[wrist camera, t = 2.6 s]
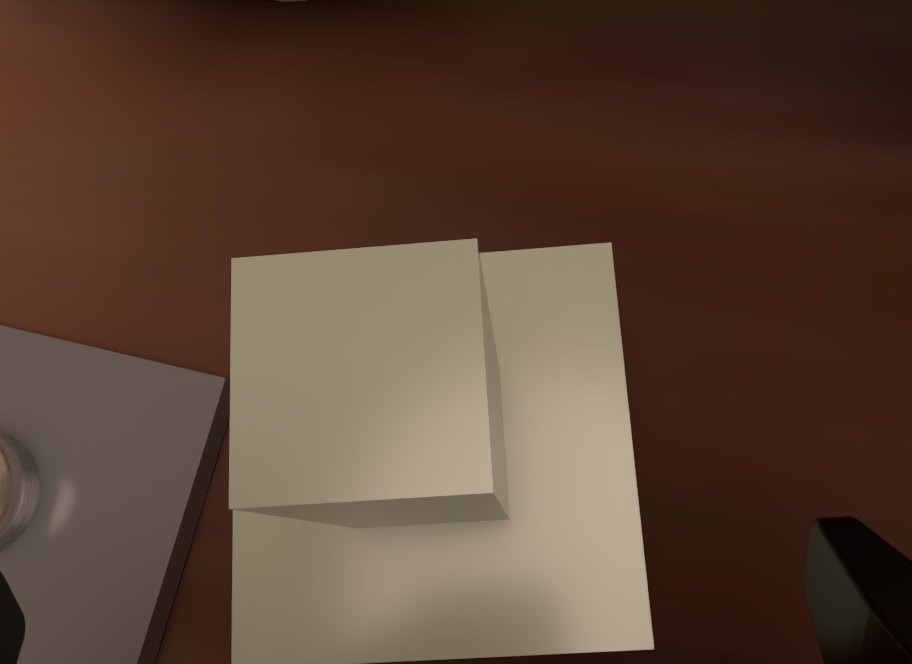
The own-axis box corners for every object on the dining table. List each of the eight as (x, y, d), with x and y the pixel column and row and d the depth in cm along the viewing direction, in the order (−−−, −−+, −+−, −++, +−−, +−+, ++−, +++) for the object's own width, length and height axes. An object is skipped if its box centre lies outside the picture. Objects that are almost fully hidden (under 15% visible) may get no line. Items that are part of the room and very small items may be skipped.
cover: (611, 616, 20) (755, 727, 7) (332, 630, 20) (0, 758, 7) (585, 341, 21) (664, 34, 9) (327, 360, 22) (46, 93, 9)
